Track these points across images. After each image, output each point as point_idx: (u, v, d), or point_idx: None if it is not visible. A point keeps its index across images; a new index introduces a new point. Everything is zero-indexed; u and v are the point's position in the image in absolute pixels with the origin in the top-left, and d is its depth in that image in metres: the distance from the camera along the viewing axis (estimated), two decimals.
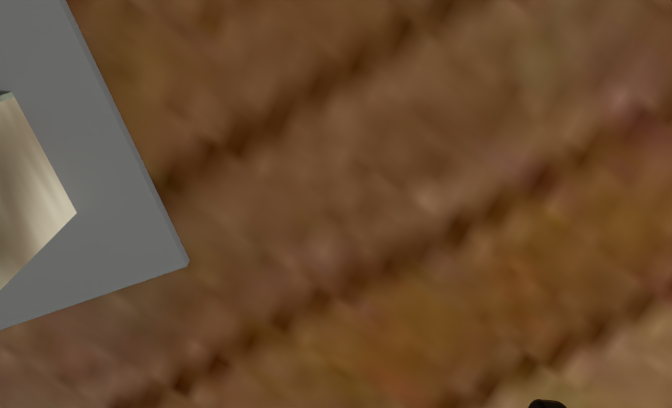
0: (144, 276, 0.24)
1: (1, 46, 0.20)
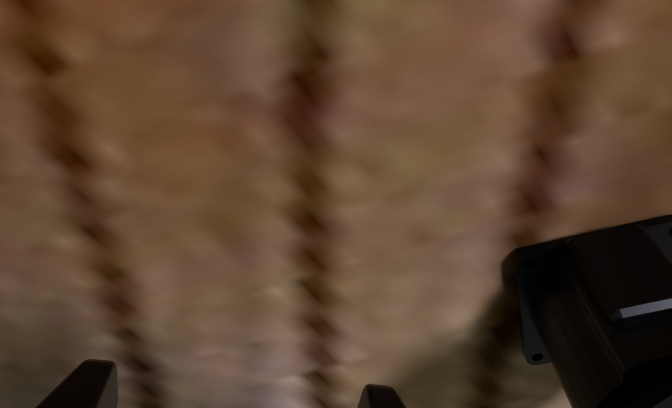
0: None
1: None
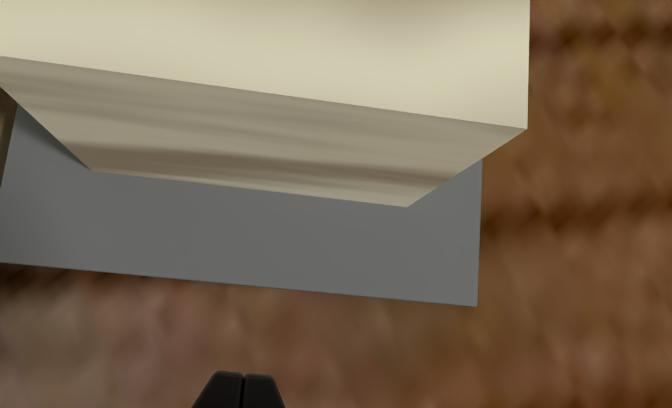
0: (433, 297, 0.22)
1: None
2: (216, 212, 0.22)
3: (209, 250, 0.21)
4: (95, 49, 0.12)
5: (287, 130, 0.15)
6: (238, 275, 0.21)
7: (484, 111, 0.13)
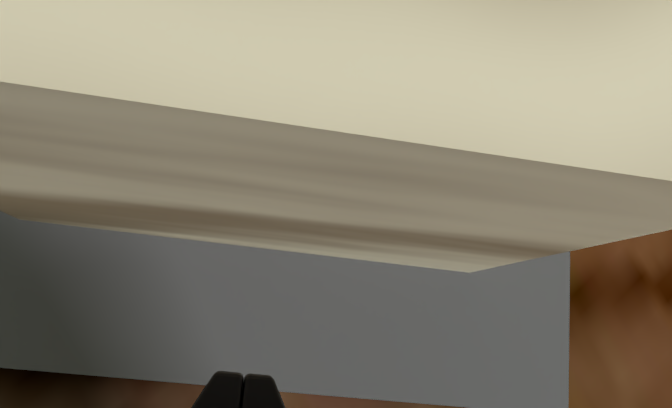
0: (507, 403, 0.16)
1: None
2: (201, 281, 0.15)
3: (189, 337, 0.15)
4: None
5: (320, 185, 0.08)
6: None
7: None
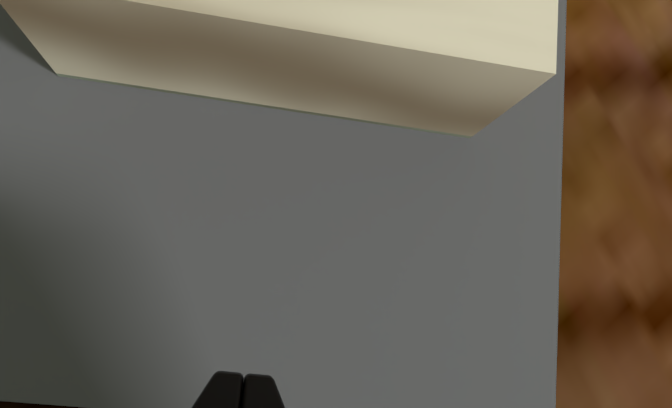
0: None
1: None
2: (197, 315, 0.15)
3: (186, 370, 0.15)
4: None
5: None
6: None
7: None
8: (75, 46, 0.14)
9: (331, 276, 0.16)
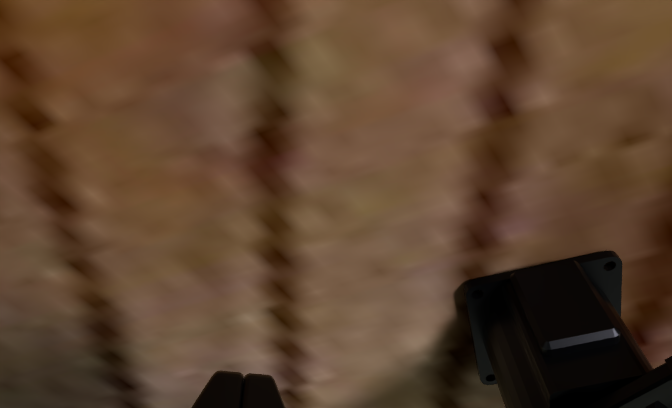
0: None
1: None
2: None
3: None
4: None
5: None
6: None
7: None
8: None
9: None
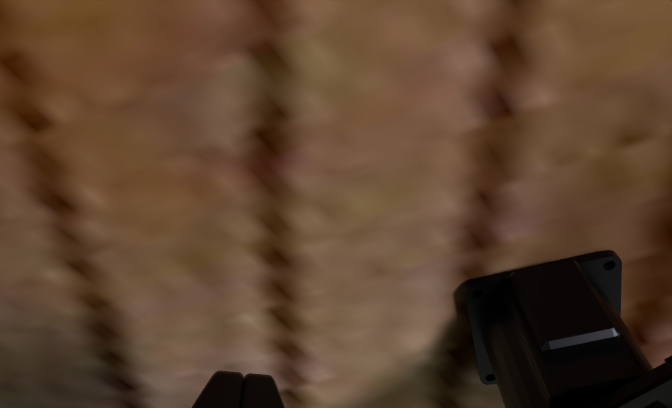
0: None
1: None
2: None
3: None
4: None
5: None
6: None
7: None
8: None
9: None
